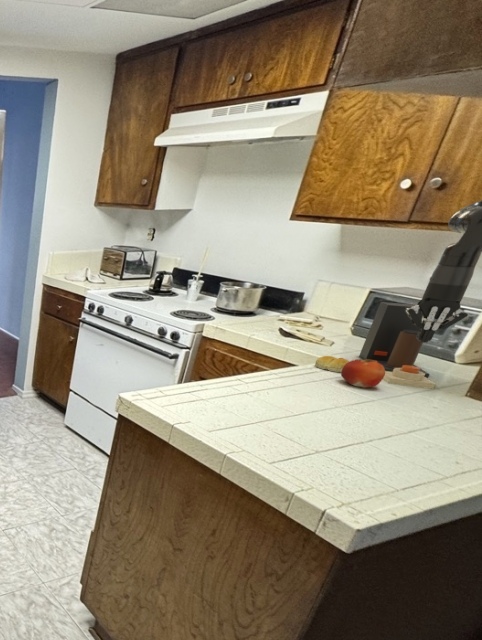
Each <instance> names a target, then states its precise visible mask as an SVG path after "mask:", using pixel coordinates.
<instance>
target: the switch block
mask: <svg viewBox="0 0 482 640" xmlns="http://www.w3.org/2000/svg"><path fill="white" fill-rule="evenodd" d="M401 369H402V368H394V369H393V372H388V371H385V376H384V377H383V379H382V381H385V382H386V383H387V384H393V385H401V386H408V387H416V388H422V389H423V388H424V389H432V390H434V389H435V387H436V383H435V382H434V381H432V380H430V379H429V378H426V377H424V376H425V373H423V372H420V371H418V374H415V373H408V372H404V371H401Z"/></svg>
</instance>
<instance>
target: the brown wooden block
mask: <svg viewBox="0 0 482 640" xmlns="http://www.w3.org/2000/svg"><path fill="white" fill-rule="evenodd" d="M418 332H419V331H415V330H403V331H400V334H399V336H398V338H397V341H396V343H395V345H394V348H393V350H392V352H391V355H390V357H389V359H388V362H387V365H388V366H391V367H395V368H402V366H403V365H410V366H413V365H415V362H416V360H417V357H418V355H419V353H420V351H421V349H422V346H423V345H424V342H419V341H418V339H416V337H417V334H418Z"/></svg>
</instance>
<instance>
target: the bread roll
mask: <svg viewBox="0 0 482 640" xmlns="http://www.w3.org/2000/svg"><path fill="white" fill-rule="evenodd" d="M348 362H350V360H348V359H346V358H343V357H340V358H337V357H335V356H332V355H323V356H320V357H317V359H316V360H315V363H314V365H315V366H316V367H317V368H319V369H320V370H326V371H327V370H328V371H329V372H333V373H341V371H342V369H343V367H344V366H345V364H347V363H348Z"/></svg>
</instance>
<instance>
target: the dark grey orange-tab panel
mask: <svg viewBox="0 0 482 640" xmlns="http://www.w3.org/2000/svg"><path fill="white" fill-rule="evenodd" d="M416 305H417V304H410V303H401V302H399V303H398V302H386V301H381V302H380V303H379V305H378V308H377V310H376V313H375V315H374V317H373V320H372V323H371V325H370V327H369V330H368V333H367V335H366V337H365V340H364V343H363V345H362V348H361V350H360V353H359V354H358V357H359V358H360V360H367V359H370V360H374V361H377V362H378V363H380V364H382V365H383V367H384V369H385V371H388V372H393V369H394V368H395V367H391V366H388V365H387V362H388V359H389V357H390V355H391V352H392V350H393V348H394V345H395V343H396V341H397V338H398V336H399V334H400V331H403V330H415V331H419V330H420V328H419V327H417V326H415V325H413V323H412V322H411V320H410V318H409V317H408V315H407V313H406V312H405V309H406V308H411V307H414V306H416ZM417 316H418V318H419V319H420V321H421V322H422V316H423V315H422V314H421V312H420V310H419V309H418V313H417ZM413 366H415V367H418V366H417V365H415V364H414V365H413ZM419 371H420V372H423V373H425V376H424V377H426V378H427V379H429V377H430V373H429V372H427V371H425V370H424V369H421V368H420V369H419Z"/></svg>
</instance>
